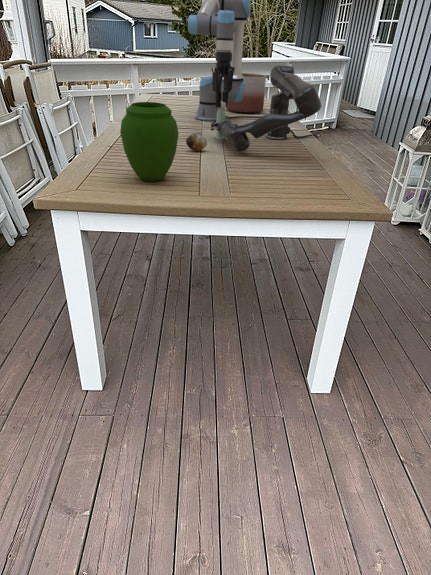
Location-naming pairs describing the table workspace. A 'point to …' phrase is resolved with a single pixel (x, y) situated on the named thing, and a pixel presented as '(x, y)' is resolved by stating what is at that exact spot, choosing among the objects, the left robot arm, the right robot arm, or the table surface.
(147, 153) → the vase
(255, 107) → the planter
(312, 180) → the table surface
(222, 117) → the bottle
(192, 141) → the seashell
